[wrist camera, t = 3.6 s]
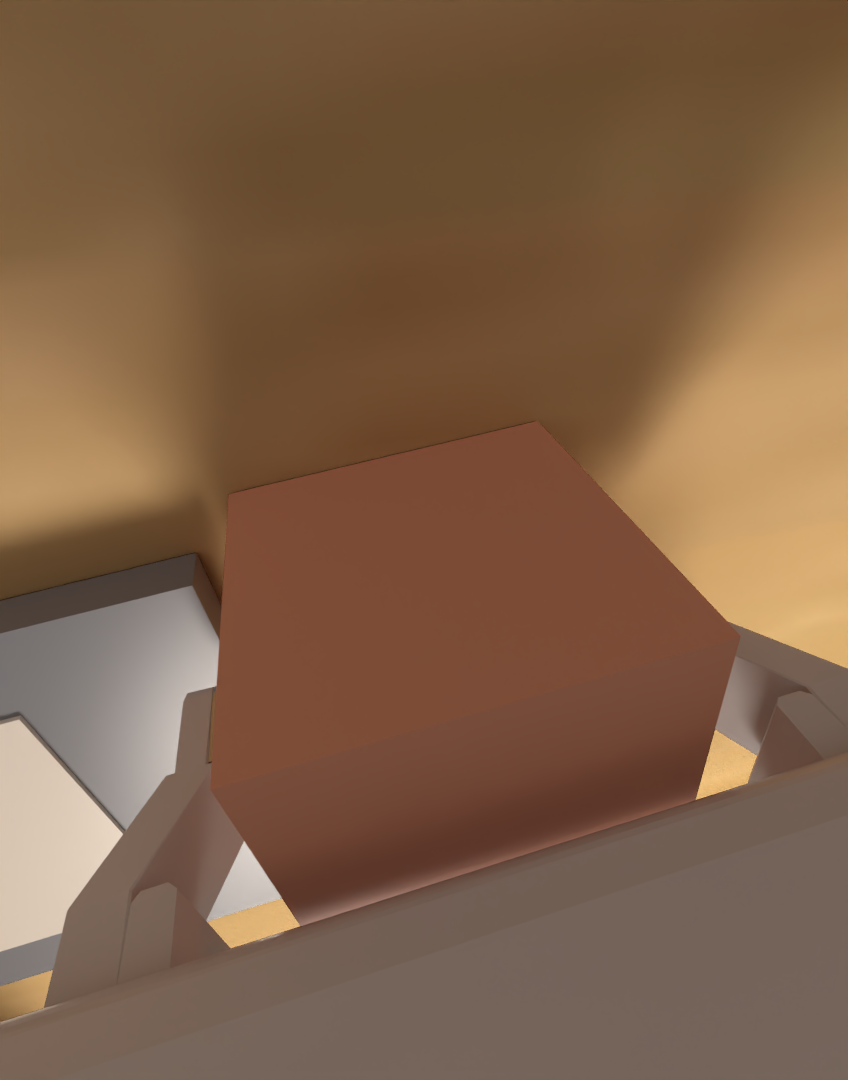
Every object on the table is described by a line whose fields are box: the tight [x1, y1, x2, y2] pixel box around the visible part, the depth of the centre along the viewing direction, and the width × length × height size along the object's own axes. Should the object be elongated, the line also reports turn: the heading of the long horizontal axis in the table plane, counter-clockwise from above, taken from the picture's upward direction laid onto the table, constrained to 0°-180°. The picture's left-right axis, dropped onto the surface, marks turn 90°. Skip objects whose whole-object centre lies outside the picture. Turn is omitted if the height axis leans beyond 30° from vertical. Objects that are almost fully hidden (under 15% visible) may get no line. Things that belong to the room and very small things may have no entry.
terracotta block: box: [210, 421, 741, 926], centre depth 11 cm, size 6×6×6 cm
